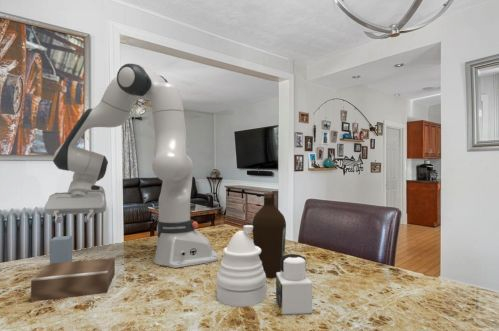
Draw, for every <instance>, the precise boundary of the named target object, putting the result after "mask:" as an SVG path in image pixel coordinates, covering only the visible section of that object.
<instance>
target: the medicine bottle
mask: <svg viewBox="0 0 499 331" xmlns="http://www.w3.org/2000/svg"><path fill="white" fill-rule="evenodd" d="M275 283H276V284H275V287H276V288H275V300H276V304H277V306H278V309H279V311H280V313H281V315H302V314H303V315H304V314H307V315H308V314H313V281H312V280H311V279H310V278H309V277H308V275H307V259H306V257H305V256H303V255H301V254H296V253H287V254H285V255H284V256H282V257H281V272H277V273H276V277H275Z"/></svg>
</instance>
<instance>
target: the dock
mask: <svg viewBox="0 0 499 331" xmlns="http://www.w3.org/2000/svg"><path fill="white" fill-rule="evenodd" d="M115 259H116V257H111V258H99V259H87V260H76V261H72V262H62V263H51V264H50V263H49V265H48V266H47V267H45V268H44V269H43V270H42V271H40V273H39V274H37V275H36V276H35V277H33V278H31V279H30V302H38V301H39V302H40V301H47V300H54V299H56V300H57V299H63V298H64V299H65V298H73V297H81V296H90V295H99V294H100V295H101V294H107V293H108V291H109V289H110V286H111V285H112V284H111V283H112V282H113V279H114V276H115V272H116V270H115V267H116V266H115V264H116V263H115V262H116V261H115Z"/></svg>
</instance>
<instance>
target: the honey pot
mask: <svg viewBox="0 0 499 331" xmlns="http://www.w3.org/2000/svg"><path fill="white" fill-rule="evenodd" d="M242 228H243V230H238V231H237V232H236V233H235V232H234V234H233V236H232V237H231V239H230V240H229V243H228V245H227V246H226V247H224V248H223V251H222V253H223V257H222V259H221V261H220V265H219V268H218V272H217V273H216V293H215V294H216V299H217V301H218V302H220V303H222V304H224V305H226V306H229V307H237V308H240V307H241V308H245V307H251V306H255V305H256V306H257V305H258V304H260V303H262V302H263V301H264V300H265V299H266V298H267V297H266V296H267V282H266V281H267V277H266V274H265V272H264V269H263V266H262V261H261V260H260V258H259V254H260V253H261V248H259V247H257V246H255V245H254V243H253V238H252V237H251V236H250V235H249V234H251V233H253V226H252V224H250V225H249V224H246V225H243V227H242Z"/></svg>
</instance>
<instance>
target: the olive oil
mask: <svg viewBox="0 0 499 331" xmlns="http://www.w3.org/2000/svg"><path fill="white" fill-rule="evenodd" d="M263 193H264V194H263V195H264V197H263V205H262V207H261V208H260V209H259V210H258V211H257V212H256V213H255V214H254V216H253V219H252V224H251V225H252V226H253V230H252V241H253V243H254V245H255V246H257V247H259V248H261V253H260V254H259V258H260V260H261V261H262V266H263V269H264V272H265V274H266V278H276V273H277V272H281V257H282V256H284V255H286V253H285V252H286V250H285V249H286V237H287V236H286V235H287V222H286V219H285V216H284V214H283V213H282V212H281V211H280V210H279V209H278V208H277V206H276V205H275V193H274V192H263Z"/></svg>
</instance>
